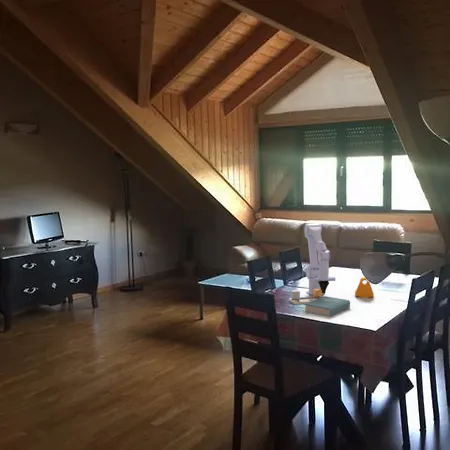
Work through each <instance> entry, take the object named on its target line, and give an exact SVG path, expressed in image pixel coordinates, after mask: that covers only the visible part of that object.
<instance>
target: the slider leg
mask: <svg viewBox="0 0 450 450" xmlns="http://www.w3.org/2000/svg"><path fill="white" fill-rule="evenodd" d="M322 296H323V294H322V290H321V289H313V295H312V297H319V298H321V297H322Z"/></svg>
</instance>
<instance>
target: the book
mask: <svg viewBox="0 0 450 450" xmlns="http://www.w3.org/2000/svg"><path fill="white" fill-rule="evenodd" d="M323 296H324V297H321V298H319V299H316V300H313V301H311V302H308V303H305V304H304V306H305V310H304V312H305V313H309V314H314V315H320V316H325V317H329V318H330V317H333V316H335V315H337V314H339V313H342V312H343V311H346V310H348V309H350V308H351V301H350V300H349V299H343V298H338V297H332V296H327V295H326V296H325V295H323Z"/></svg>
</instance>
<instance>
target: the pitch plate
mask: <svg viewBox="0 0 450 450" xmlns="http://www.w3.org/2000/svg"><path fill="white" fill-rule="evenodd" d="M324 296H325V295H322V297H324ZM316 299H319V297H314V296H304V297H303V296H301V291H300V290H298V289H293V290H292V289H291V290H290V298H288V300H289V302H290V303H292V304H294V305H301V304H303V305H305V303H308V302H311V301H313V300H316Z"/></svg>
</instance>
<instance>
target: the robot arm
mask: <svg viewBox="0 0 450 450" xmlns="http://www.w3.org/2000/svg"><path fill="white" fill-rule="evenodd" d="M322 228H323V227H322V224H321V223H306V224H305V225H304V228H303V229H304V230H303V231H304V232H303V233H304V238H305V239H307V243H308V244H307V245H308V254H309V265H308V266H307V267H306V269H305V271H306V272H305V273H306V274H305V275H306V276H305V277H306V278H307V280H308V291H306V293H307V294H308V295H311V296H313V289H321V290H322V295H326V291H327V288H328V286H329V284H330V282H336V277H332V276H331V277H329V274H330V273H329V272H330V271H329V270H330V269H329V266H330V265H329V264H330V260H331V251H330V250H329V249H328V248H327V245H326V243H325V242H324V241H323V239H322V234H321V233H322V232H323V231H322V230H323V229H322Z"/></svg>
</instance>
